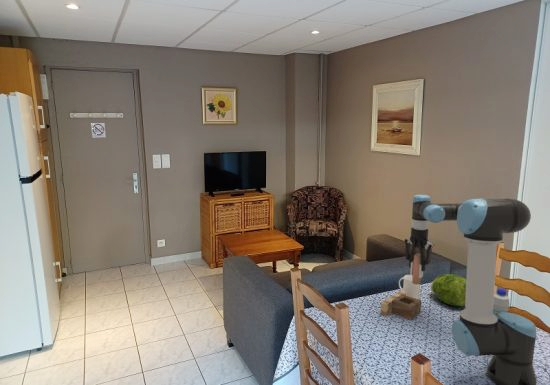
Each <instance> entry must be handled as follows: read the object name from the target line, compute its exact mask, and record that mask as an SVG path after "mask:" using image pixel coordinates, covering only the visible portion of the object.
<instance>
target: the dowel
mask: <svg viewBox="0 0 550 385" xmlns="http://www.w3.org/2000/svg"><path fill="white" fill-rule="evenodd" d="M413 261H414V262H413V278H412V283H413V284H417V285H418V284H420V285H421V279H422V277H421V278H419V266H420V264H421V256H420V253H415V254H414V260H413Z"/></svg>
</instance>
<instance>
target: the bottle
mask: <svg viewBox="0 0 550 385" xmlns="http://www.w3.org/2000/svg"><path fill="white" fill-rule="evenodd" d="M509 309H510V298H509V296H508V295H507V291H506V289H504V288H498V289H497V292H496V293H494V303H493V314H494V315H495V316H496V317H497V316H498V314H499V313H501V312H508V313H509ZM497 319H498V318H497Z"/></svg>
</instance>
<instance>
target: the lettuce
mask: <svg viewBox="0 0 550 385" xmlns="http://www.w3.org/2000/svg"><path fill="white" fill-rule="evenodd" d="M430 290H431V292H432V293H434V295H435V296H436V298H438V299H439V300H440V301H442V302H444V303H445V304H447V305H451V306H453V307H465V297H466V278H465V277H463V276H461V275H458V274H455V273H454V274H453V273H452V274H451V273H447V274H441V275H438V276H437V277H436V278H435V279H434V280H433V281H432V282H431V284H430Z"/></svg>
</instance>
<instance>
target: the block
mask: <svg viewBox="0 0 550 385" xmlns="http://www.w3.org/2000/svg"><path fill="white" fill-rule="evenodd" d="M421 310H422V300H421V299H419V300H418V299H415V298H412V297H409V296H405V295H400V296H398V297H397V298H395V299H394V300H392V311H391V315H392V314H393V315H395V316H397V317H398V316H399V317H401V318H405V319H407V320H409V321H412V320H413V319H415V318H416V317H417V316H419V315H420V314H421Z"/></svg>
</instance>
